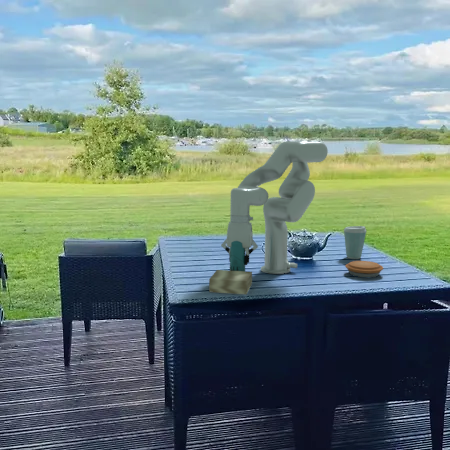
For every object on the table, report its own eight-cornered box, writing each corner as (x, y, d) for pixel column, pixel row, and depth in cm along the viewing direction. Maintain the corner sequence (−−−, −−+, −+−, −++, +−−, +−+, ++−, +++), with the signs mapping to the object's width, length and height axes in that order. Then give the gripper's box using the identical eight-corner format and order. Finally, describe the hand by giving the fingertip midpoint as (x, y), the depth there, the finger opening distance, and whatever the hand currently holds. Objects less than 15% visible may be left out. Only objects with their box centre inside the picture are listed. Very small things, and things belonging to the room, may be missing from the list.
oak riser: (251, 284, 218) (252, 271, 217) (246, 294, 204) (246, 281, 203) (216, 282, 220) (216, 269, 219) (209, 292, 207) (209, 279, 206)
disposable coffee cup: (341, 259, 260) (343, 227, 258) (342, 254, 271) (344, 224, 268) (365, 260, 258) (366, 229, 255) (365, 255, 268) (366, 225, 266)
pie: (387, 273, 236) (387, 261, 236) (377, 281, 223) (377, 269, 222) (351, 268, 244) (352, 257, 243) (339, 276, 231) (340, 264, 230)
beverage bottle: (244, 277, 228) (245, 229, 224) (246, 281, 221) (246, 232, 218) (228, 277, 228) (229, 229, 224) (229, 281, 221) (230, 232, 218)
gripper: (262, 218, 222) (261, 263, 225) (220, 217, 225) (220, 260, 228) (260, 221, 215) (259, 267, 218) (216, 219, 218) (216, 265, 221)
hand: (239, 263), depth 223 cm, fingers closed on beverage bottle, 5 cm apart
